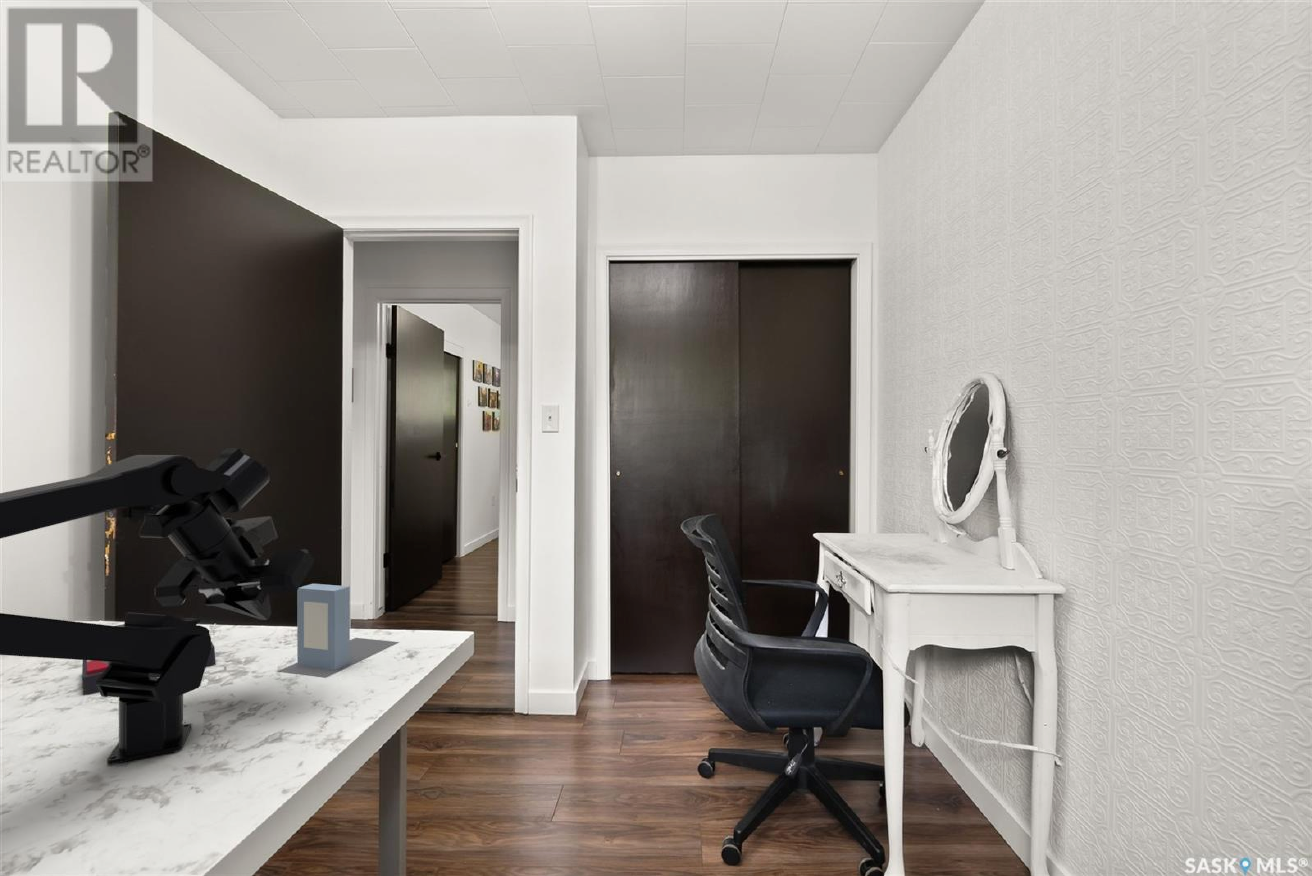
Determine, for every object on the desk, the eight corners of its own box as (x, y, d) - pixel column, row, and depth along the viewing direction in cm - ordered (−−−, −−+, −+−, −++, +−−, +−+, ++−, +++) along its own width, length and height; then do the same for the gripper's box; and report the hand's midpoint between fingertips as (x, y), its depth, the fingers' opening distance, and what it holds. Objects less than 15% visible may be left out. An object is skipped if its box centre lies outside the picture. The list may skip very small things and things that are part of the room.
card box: (334, 670, 92) (334, 591, 92) (297, 666, 94) (297, 588, 94) (349, 663, 95) (349, 586, 95) (313, 659, 97) (313, 583, 97)
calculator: (82, 651, 92) (204, 625, 102) (84, 679, 92) (206, 651, 102) (81, 672, 84) (214, 641, 94) (83, 702, 84) (216, 669, 94)
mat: (325, 680, 89) (325, 677, 89) (276, 673, 92) (276, 671, 92) (399, 644, 105) (399, 642, 105) (355, 640, 107) (355, 637, 107)
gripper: (305, 488, 83) (353, 567, 92) (176, 503, 84) (235, 579, 93) (263, 548, 74) (320, 629, 83) (118, 563, 75) (191, 641, 84)
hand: (267, 617), depth 86 cm, fingers closed
